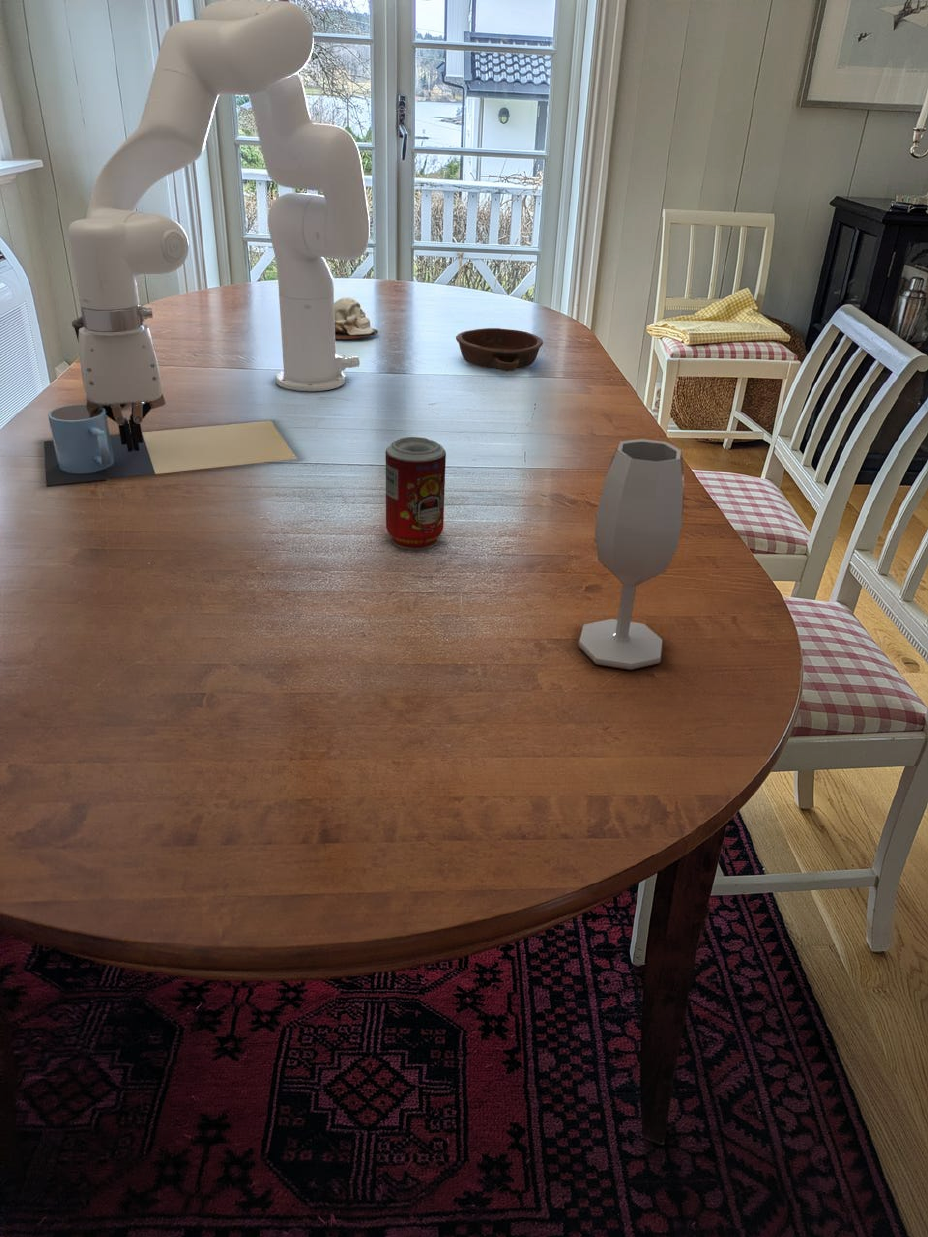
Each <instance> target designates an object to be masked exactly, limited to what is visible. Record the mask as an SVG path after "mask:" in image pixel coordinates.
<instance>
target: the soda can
mask: <svg viewBox="0 0 928 1237" xmlns="http://www.w3.org/2000/svg"><path fill="white" fill-rule="evenodd" d="M446 451H447V450H445V448H444V446H443V445H441V444H440V443H438V441H434V440H431V439H429V438H426V437H419V436H418V437H417V436H408V437H407V436H406V437H402V438H399V439H397V440H395V441H393V442H391V443H390V444H389V445H388V446H387V447H386V448H385V452H384V453H385V529H386V531H387V533H388V534H389V536H390V538H391V542H392V544H393V545H395V546H396V547H399V548H401V549H405V550H413V551H414V550H418V551H419V550H425V549H430V548H432V547H434V546H435V545H436V544H438V539H439V537H440V535H441V534H442V533H443V531H444V526H445V525H444V524H445V520H444V519H445V495H446V494H445V485H446V461H447V460H446V459H447V453H446Z"/></svg>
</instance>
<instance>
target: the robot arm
mask: <svg viewBox="0 0 928 1237" xmlns="http://www.w3.org/2000/svg"><path fill="white" fill-rule="evenodd" d="M314 42H315V39H314V31H313V26H312V24H311V21H310V19H309V16H308V15H307V14H306V12H305V11H304V9H302V7H300V6H299V5H298V4H296V3H294V2H290V1H286V0H219V1H215V2H211V3H209V4H207V5H205V7H203V9H202V10H201V12H200V15H199V18H198V19H191V20H190V19H189V20H181V21H177V22H175V23H174V24H172V25H171V26H170V27H169V28H168V29H167V30H166V32H165V33H164V35H163V37H162V42H161V44H160V48H159V51H158V52H159V53H158V57H157V59H156V64H155V67H154V69H153V74H152V77H151V82H150V86H149V90H148V93H147V97H146V100H145V104H144V108H143V111H142V116H141V119H140V122H139V125H138V126H137V128H136V129H135V131H133V132H132V133H131V134H130V135H129V136H128V137H127V138H126V139H125V140H124V141H123V142H122V144H120V146H119V147H118V148H117V149H116V150H115V152H113V154H112V155H111V156H110V157H109V159H108V160H107V161H106V162H105V164H104V165H103V167H102V168H101V170H100V172H99V174H98V175H97V178H96V180H95V183H94V186H93V188H92V192H91V195H90V200H89V203H88V206H87V211H86V217H85V218H81V219H77V220H75V221H72V222H71V223H70V225H69V226H68V229H67V234H68V235H67V237H68V242H69V248H70V254H71V258H72V259H71V260H72V264H73V266H72V267H73V271H74V277H75V282H76V288H77V295H78V298H79V299H78V300H79V305H80V311H81V316H82V317H83V323H84V327H83V328H80V329H79V343H78V354H79V355H78V356H79V362H80V370H81V377H82V384H83V388H84V392H85V394H86V397H85V404H86V407H99V406H101V407H103V408H104V409H105V410H106V415H107V418H109V419H111V420H112V421H113V422H115V423H116V424H117V427H118V432H119V434H120V439H121V444H122V445H124V444H126V445H127V449H128V452H130V451H132V450H133V447H134V450H136V451H140V449H139V443H143V437H142V432H143V431H142V425H141V423H142V422H143V420H144V418H146V416H147V415H148V413H149V412H150V411H151V410H155V409H158V408H161V407H164V406H165V405H166V402H167V401H166V400H165V397H164V394H163V387H162V380H161V379H162V378H161V374H160V368H159V364H158V358H157V354H156V349H155V346H154V341H153V337H152V335H151V331H150V328H149V326H148V325H147V324H144V322H145V320H148V319H153V318H154V316H153V309H152V308H151V307H145V306H143V305H141V304H140V298H139V290H138V283H137V276H138V275H163V274H169V273H172V272H175V271H176V270H178V269H179V268H180V267H181V266H183V265H184V263H185V262H186V260H187V258H188V254H189V249H190V245H189V239H188V236H187V234H186V231H185V229H184V228H183V227H182V226H181V225H180V224H179V222H177V221H175V220H174V219H172V218H170V217H168V216H165V215H161V214H157V213H150V212H149V213H148V212H143V211H136V210H137V207H138V206H139V203H140V201H141V199H142V198H143V196H144V195H145V194H146V192H147V191H148V190H149V189H150V188H151V187H152V186H153V185H155V184H156V183H157V182H159V181H161V180H162V179H163V178H165V177H167V176H169V175H171V174H174V173H176V172H178V171H180V170H182V169H184V168H186V167H187V166H189V165H192V164H193V163H194V162H196V161H197V160H199V159H200V158H201V156H202V154H203V152H204V150H205V146H206V142H207V138H208V134H209V130H210V126H211V123H212V119H213V116H214V111H215V109H216V105H217V102H218V98H219V96H220V95H235V96H236V95H237V96H246V95H248V98H249V101H250V104H251V108H252V112H253V118H254V121H255V126H256V130H257V135H258V140H259V144H260V149H261V155H262V158H263V162H264V167H265V171H266V173H267V175H268V177H269V179H270V180H271V181H272V182H273V183H275V184H276V185H277V186H281V187H283V188H284V187H285V188H291V189H297V190H308V191H316V192H322V194H323V195H322V194H314V193H302V192H291V193H286V194H282V195H280V196H279V197H277V198H276V199H275V200H274V201H273V202H272V204H271V205H270V207H269V210H268V215H267V227H268V233H269V237H270V241H271V245H272V249H273V253H274V259H275V265H276V271H277V273H276V274H277V286H278V300H279V314H280V315H279V317H280V331H281V349H282V362H283V363H282V364H283V370H281V371H279V372H278V373H276V375H275V383H276V384H277V385H278V386H279V387H281V388H283V389H287V390H292V391H298V392H322V391H329V390H334V389H336V388H340V387H342V386H343V385H344V384H345V383H346V375H345V374H344V372H343V371H345V370H346V369H347V368H349V369H353V368H357V367H359V366H360V358H359V356H357V355H355V356H349V357H346V356H345V355H338V354H337V349H336V338H335V317H334V303H335V291H334V290H335V288H334V280H333V276H332V273H331V270H330V268H329V266H328V264H327V262H326V260H325V259H331V260H332V259H334V260H342V261H353V260H356V259H359V258H360V257H362V256H363V255H364V254H365V253H366V251H367V249H368V247H369V243H370V238H371V236H370V235H371V225H370V224H371V223H370V222H371V221H370V214H369V206H368V200H367V192H366V185H365V178H364V171H363V170H364V169H363V164H362V159H361V154H360V150H359V147H358V145H357V143H356V140H355V139H354V136H352V134H351V133H350V132H349V131H348V130H346V129H345V128H343V127H341V126H339V125H336V124H335V125H334V124H327V123H326V124H325V123H315V122H314V121H313V119H312V117H311V114H310V109H309V106H308V100H307V96H306V91H305V87H304V84H303V81H302V79H301V77H300V74H299V72H301V71H302V70H303V69H304V68H305V67H306V66H307V64H308V63H309V61H310V59H311V57H312V54H313V51H314V50H313V49H314ZM125 403H126V404H131V414H130V415H129V419H128V418H127V416H125V414H124V413H123V410H122V408H121V407H120V404H125ZM131 438H132V439H131ZM132 444H133V445H132Z"/></svg>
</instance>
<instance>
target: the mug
mask: <svg viewBox="0 0 928 1237" xmlns="http://www.w3.org/2000/svg"><path fill="white" fill-rule="evenodd" d="M47 417H48V422H49V427H50V432H51V437H52V440H53V442H54V447H55V452H56V457H57V461H58V466H59V468H60V469H61V470H62V471H65V472H68V473H77V474H82V473H93V472H98V471H101V470H104V469H107V468H109V467H111V466H112V465H113V464H114V456H113V450H112V444H111V438H110V435H111V433H110V428H109V427H110V426H109V422H108V421H109V420H108V416H107V415H106V410H105V409H104V408H103V407H101V406H99V407H86V403H85V404H84V403H79V404H69V405H63V406H59V407H57V408H53V409H52V410H50V411H49V412H48V414H47Z"/></svg>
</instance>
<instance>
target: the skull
mask: <svg viewBox="0 0 928 1237" xmlns="http://www.w3.org/2000/svg"><path fill="white" fill-rule="evenodd" d="M334 317H335V339H341V340H342V339H343V340H345V339H346V340H349V339H361V338H366V337H367V338H368V337H372V336H376V335H378V333H379V330H378V329H377V328H373V327H372V325H371V320H370V319H369V318H368V317H367V316H366V312H365V311H363V309H362V308H361V304H360V303H359V302H358V301H357V300H356V299H355V298H352V297H341V298H339V299H338V300H336V301H334Z"/></svg>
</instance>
